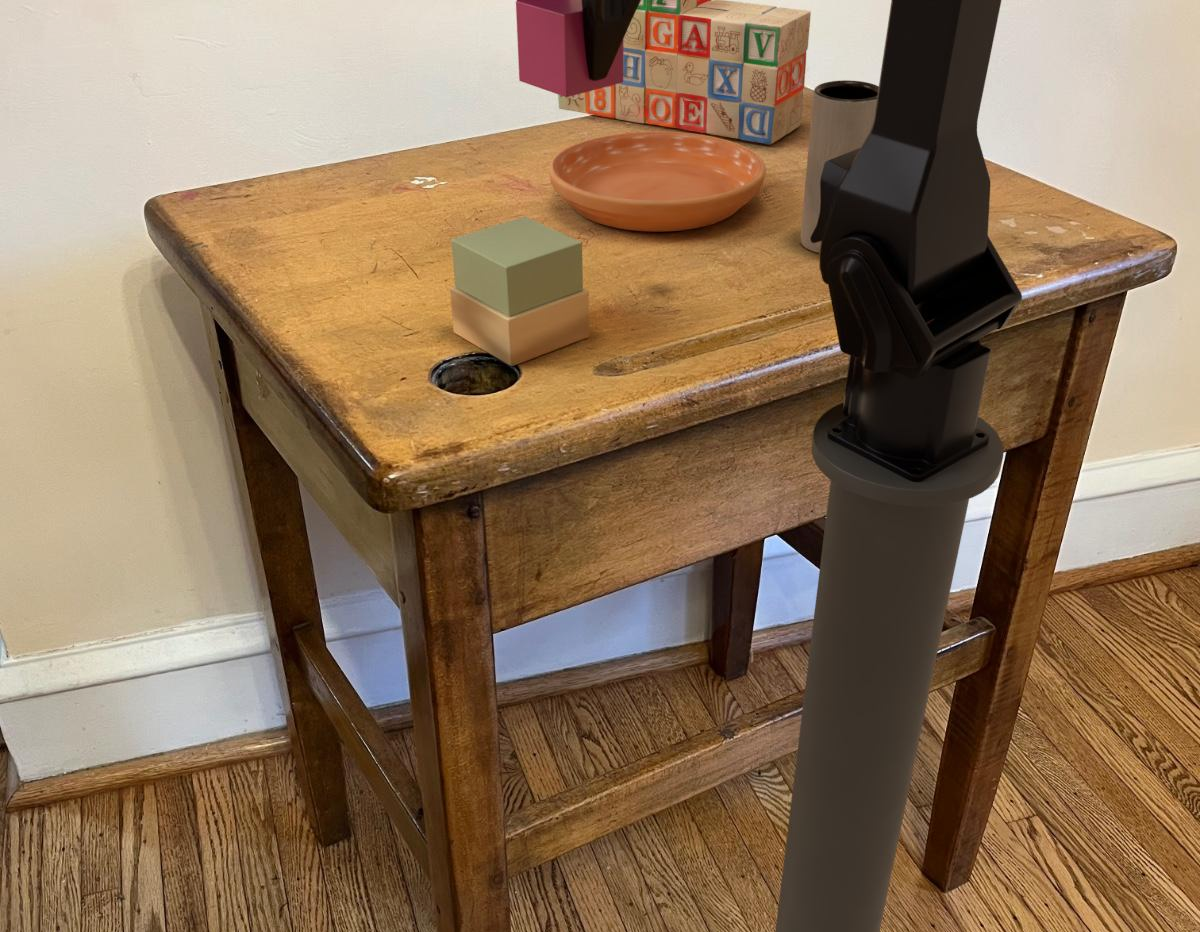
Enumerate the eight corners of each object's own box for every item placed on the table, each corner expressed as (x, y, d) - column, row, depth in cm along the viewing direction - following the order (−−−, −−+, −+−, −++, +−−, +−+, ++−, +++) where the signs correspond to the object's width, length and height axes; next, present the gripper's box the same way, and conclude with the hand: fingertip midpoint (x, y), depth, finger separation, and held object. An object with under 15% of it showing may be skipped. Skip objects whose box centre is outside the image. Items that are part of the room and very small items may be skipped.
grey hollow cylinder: (875, 238, 87) (895, 86, 80) (849, 261, 84) (868, 104, 77) (816, 226, 89) (831, 76, 82) (789, 247, 86) (802, 93, 79)
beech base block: (590, 336, 75) (589, 290, 73) (511, 367, 72) (508, 320, 70) (530, 305, 79) (528, 260, 77) (453, 332, 76) (449, 286, 74)
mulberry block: (623, 82, 74) (624, 1, 71) (566, 98, 72) (564, 14, 69) (575, 67, 77) (574, -12, 74) (518, 81, 75) (515, 0, 72)
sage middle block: (583, 290, 74) (582, 242, 72) (509, 317, 71) (506, 267, 69) (527, 262, 77) (525, 215, 75) (454, 287, 74) (450, 238, 72)
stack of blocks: (803, 126, 106) (816, -31, 99) (771, 147, 102) (783, -15, 95) (592, 91, 115) (590, -56, 108) (555, 109, 111) (550, -43, 104)
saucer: (604, 155, 101) (604, 118, 99) (791, 183, 96) (794, 143, 94) (512, 223, 90) (510, 182, 88) (717, 258, 84) (719, 215, 83)
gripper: (336, -245, 66) (372, 64, 75) (559, -220, 55) (567, 138, 64) (502, -257, 71) (516, 32, 81) (735, -237, 60) (718, 95, 70)
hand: (571, 70), depth 74 cm, fingers closed on mulberry block, 4 cm apart
